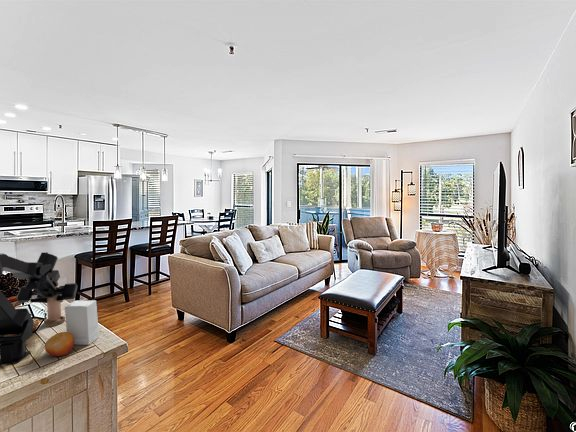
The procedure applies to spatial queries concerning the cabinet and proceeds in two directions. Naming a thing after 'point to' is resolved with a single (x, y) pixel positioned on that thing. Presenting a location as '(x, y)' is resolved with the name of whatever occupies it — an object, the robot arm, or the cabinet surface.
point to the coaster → (54, 321)
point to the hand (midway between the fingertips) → (55, 301)
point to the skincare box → (82, 321)
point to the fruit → (60, 344)
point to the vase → (53, 308)
